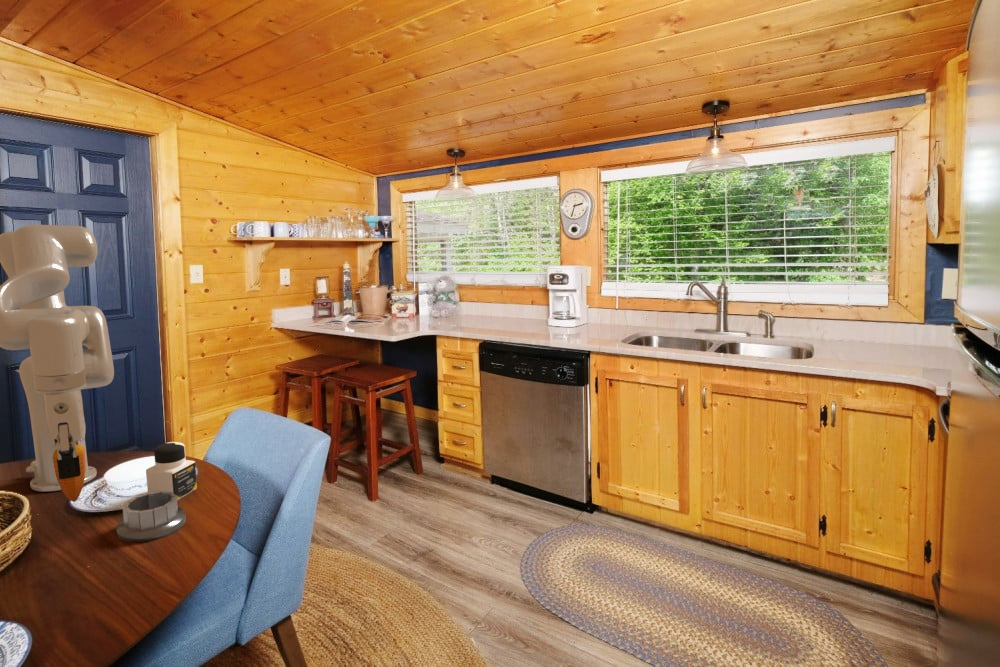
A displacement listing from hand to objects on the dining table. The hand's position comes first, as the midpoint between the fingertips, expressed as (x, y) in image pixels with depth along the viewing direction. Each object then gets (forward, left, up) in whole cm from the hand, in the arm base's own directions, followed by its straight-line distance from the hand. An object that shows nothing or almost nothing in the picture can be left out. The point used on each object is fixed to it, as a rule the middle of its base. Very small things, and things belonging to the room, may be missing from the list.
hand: (70, 470), depth 105 cm
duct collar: (+11, +7, -14) cm, 19 cm away
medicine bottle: (+5, +21, -14) cm, 26 cm away
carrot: (0, 0, -7) cm, 7 cm away
